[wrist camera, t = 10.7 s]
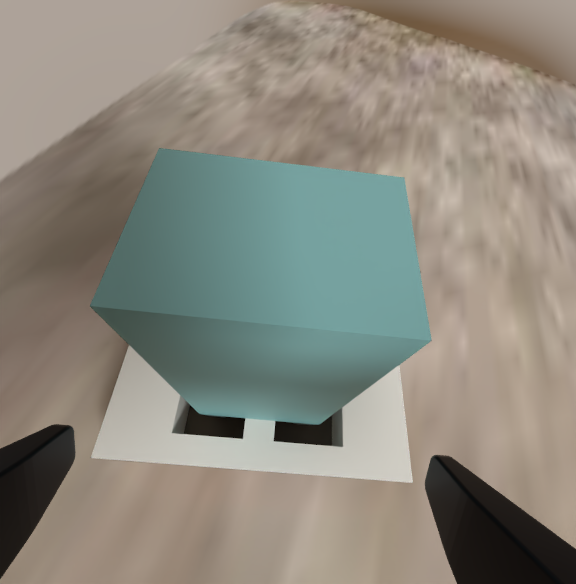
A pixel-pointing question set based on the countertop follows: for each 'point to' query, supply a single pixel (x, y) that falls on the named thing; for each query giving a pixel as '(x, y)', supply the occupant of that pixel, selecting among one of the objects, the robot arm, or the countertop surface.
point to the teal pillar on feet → (266, 284)
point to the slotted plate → (254, 432)
